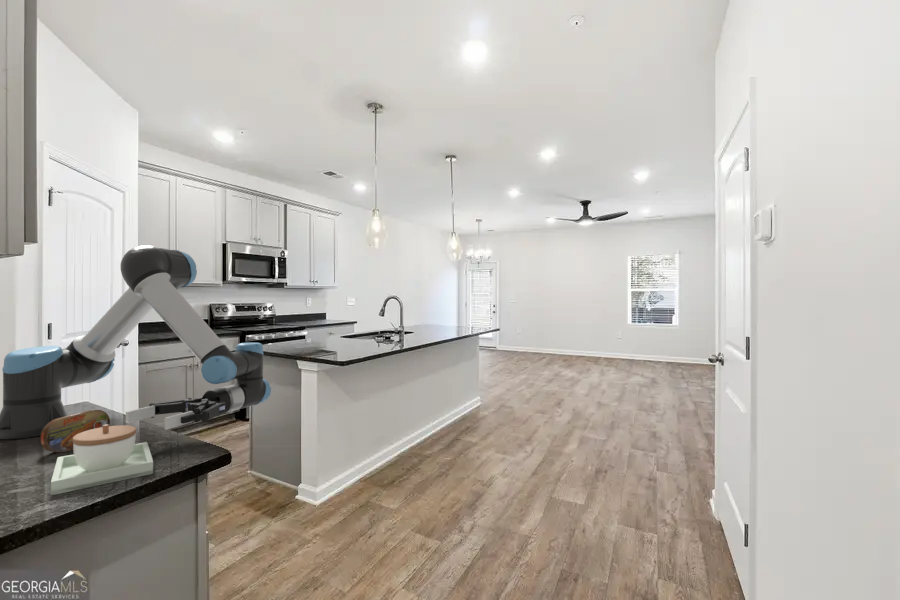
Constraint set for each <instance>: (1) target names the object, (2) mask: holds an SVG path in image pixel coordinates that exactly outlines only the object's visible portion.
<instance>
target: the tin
mask: <svg viewBox="0 0 900 600" xmlns="http://www.w3.org/2000/svg"><path fill="white" fill-rule="evenodd" d="M106 424H109V426H111V421H110V416H109V414H108V413H107V412H106V411H103V410H102V409H93V410H91V409H89V410H85V411H81V412H78V413H77V412H76V413H74V414H71V415H69V414H68V416H65V417H61V418H57V419H54V420H52V421H51V422H49V423H48V424H47V425H46V426H45V427H44V428H43V430H42V432H41V435H40V437H39V439H40V440H39V442H40V445H41V447H42V448H43V449H44V450H46V451H48V452H51V453H66V452H68V451H71V450H73V437H74V436H75V435H77V434H79V433H81V432H84V431H87V430H91V429H95V428H101V427H103V425H106Z"/></svg>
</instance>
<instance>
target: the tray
mask: <svg viewBox="0 0 900 600" xmlns="http://www.w3.org/2000/svg"><path fill="white" fill-rule="evenodd" d="M56 458H57V459H56V463H55V465H54V470H53V473H52V477H51V480H50V496H55V495H60V494H64V493H69V492H73V491H77V490H83V489H88V488H91V487H92V488H93V487H97V486H101V485H106V484H112V483H116V482H121V481H125V480H130V479H134V478H139V477H145V476H149V475H153V474H154V460H153V456H152V452H151V450H150V447H149V444H148V441H144V442H138V443H135V446H134V449H133V452H132V454H131V455H130V457H129V458H128V459H127V460H126V461H125V462H124V463H123V465H122V466H121V467H116V468H111V469H106V470H101V471H96V472H91V473H88V472H87V470H85V469H83V468H81V467H80V466H79V465H78V464H77V462H76V460H75V457H74V454H69V455H63V456H58V457H56Z"/></svg>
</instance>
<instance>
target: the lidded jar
mask: <svg viewBox="0 0 900 600" xmlns="http://www.w3.org/2000/svg"><path fill="white" fill-rule="evenodd" d="M136 434H137V428H136V427H135V426H134V425H126V424H125V425H122V424H121V425H120V424H119V425H118V424H117V425H110V426H109V424H106V425H103V427H101V428H95V429H91V430H87V431H84V432H81V433H79V434H77V435H75V436H74V437H73V449H72V450H73V451H72V453H73V455H74V457H75V460H76V462H77V464H78V465H79V466H80V467H81V468H83V469H85V470H87V472H88V473H91V472H96V471H101V470H106V469H111V468H116V467H121V466H122V465H123V463H124V462H125V461H126V460H127V459H128V458H129V457H130V455H131V454H132V452H133V449H134V446H135V444H136Z"/></svg>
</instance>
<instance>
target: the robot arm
mask: <svg viewBox="0 0 900 600" xmlns="http://www.w3.org/2000/svg"><path fill="white" fill-rule="evenodd" d="M120 273H121V276H122V278H123V280H124V282H125V283H126V285H127V286H128V288H127V290H126V291H125V292H123V294H122V295H121V296H120V297H119V298H118V300H117V301H116V302H115V303H114V304H113V305H112V306H111V307H110V308H109V309H108V310H107V311H106V312H105V314H104V315H102V317H101V318H100V319H99V320H97V322H96V323H95V324H94V326H92V328H91V329H90V330H89V331H88V332H87V333H86V334H85V335H79V336H77V337H75V338H74V339H73V340H72V342H71V343H70V344H68V346H67V347H64V348H62V347H61V346H58V345H44V346H43V345H41V346H40V345H39V346H35V347H33V346H32V347H26V348H21V349H17V350H14V351H10V352H9V353H7V354H6V355H5V357H4V359H3V366H2V409H1V411H0V440H16V439H18V440H19V439H26V438H27V439H28V438H33V437H39V436H41V432H42V430H43V428H44V427H45V426H46V425H47V424H48V423H49V422H51V421H52V420H54V419H57V418H61V417H65V416H69V414H68V413H67V411H66V408H65V406H64V404H63V401H62V389H64V388H68V387H73V386H78V385H84V384H90V383H93V382H96V381H99V380H101V379H104V378H105V377H107V376H108V375H109V374H110V373H111V372H112V370H113V368H114V366H115V363H114V362H115V361H116V360H115V357H116V351H115V350H116V349H117V348H118V346H120V344H121V343H122V342H124V340H125V339H126V338H127V337H128V335H130V333H132V331H133V330H134V329H135V328H136V327H137V326H138V325H139V324H140V322H142V320H143V319H144V318H145V317H147V315H148V314H149V313H150V312H151V311H152V309H154V311H155V312H156V313H157V314H158V315H159V317H160V318H161V319H162V320H163V322H164V323H166V325H167V326H168V327H169V328H170V329H171V330H172V331H173V333H174V334H175V335H176V336H177V338H179V340H180V341H181V342H182V343H183V344H184V345H185V346H186V347H187V348H188V350H189V351H190V352H191V353H192V354H193V355H194V356H195V357H196V359H197V360H198V361H199V362H200V363H201V364H202V365H201V369H200V372H201V376H202V378H203V380H204V381H205V382H207V383H209V384H212V385H220V384H225V383H229V382H231V381H234V380H235V381H236V382H235V384H230V385H226V386H221V387H217V388H213V389H208V390H207V391H206V392H204V394H203V395H202V397H196V398H195V397H194V398H193V399H192V397H188V398H184V399H175V400H170V401H160V402H151V403H149V404H148V405H149V406H145V407H140V408H136V409H132V410H128V411H125V423H126V424H129V423H133V422H139V421H141V420H145V419H149V418H151V419H153V418H155V417H156V415H166V414H174V415H170V416H166V417H164V430H171V429H174V428H178V427H181V426H184V425H188V424H191V423H193V422H195V423H198V422H200V421H201V422H202V423H206V422H208V421H210V420H212V419H213V418H214V417H215V418H216V417H219V416H221V415H225V414H227V413H229V414H233V412H235V411H237V410H241V409H245V408H249V407H252V406H257V405H259V404H262V403H264V402H265V401H267V400H269V398H270V396H271V393H272V387H271V386H270V382H269V380H266V379H265V378H264V345H263V344H262V343H261V342H241V343H238V344H237V345H236V349H235V351H234V352H232V351H231V349H229V347H227V345H226V344H225V343H224V341H222V340H221V339H220V337H219V336H218V335H217V334H216V333H215V332H214V330H212V328H211V327H210V326H209V324H208V323H207V322H206V321H205V320H204V319H203V318H202V316H200V315H199V313H198V312H197V311H196V309H195V308H194V307H193V306H192V305H191V304H190V303H189V302H188V301H187V299H186V298H185V297H184V295H182V293H181V292H180V291H179V290H178V289H179V288H182V289H183V288H186V287H189V286H191V285H192V284H193V282H194V281H195V280H196V278H197V274H198V270H197V264H196V262H195V260H194V258H193V257H192V256H191V255H190V254H188V253H186V252H183V251H180V250H178V249H171V248H170V249H169V248H165V247H164V248H163V247H158V246H154V245H144V244H143V245H139V246H135V247H133V248H131V249H130V250H128V251H126V252H125V254H124V255H123V257H122V258H121V261H120ZM175 413H176V414H175Z"/></svg>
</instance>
